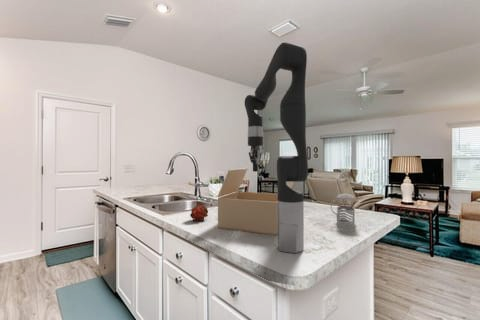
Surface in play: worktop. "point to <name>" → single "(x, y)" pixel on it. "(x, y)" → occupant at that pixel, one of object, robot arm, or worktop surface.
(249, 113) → the robot arm
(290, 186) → the flap right
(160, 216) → the worktop surface
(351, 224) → the french press
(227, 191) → the flap left
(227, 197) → the carton
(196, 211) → the dragon fruit
